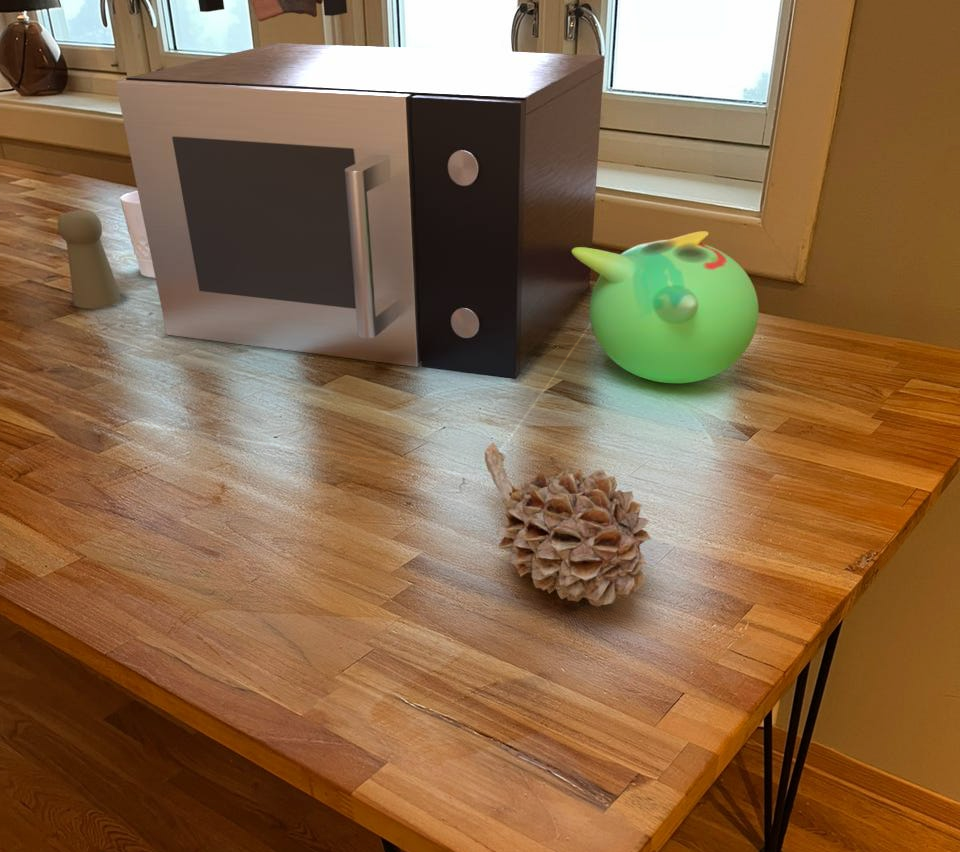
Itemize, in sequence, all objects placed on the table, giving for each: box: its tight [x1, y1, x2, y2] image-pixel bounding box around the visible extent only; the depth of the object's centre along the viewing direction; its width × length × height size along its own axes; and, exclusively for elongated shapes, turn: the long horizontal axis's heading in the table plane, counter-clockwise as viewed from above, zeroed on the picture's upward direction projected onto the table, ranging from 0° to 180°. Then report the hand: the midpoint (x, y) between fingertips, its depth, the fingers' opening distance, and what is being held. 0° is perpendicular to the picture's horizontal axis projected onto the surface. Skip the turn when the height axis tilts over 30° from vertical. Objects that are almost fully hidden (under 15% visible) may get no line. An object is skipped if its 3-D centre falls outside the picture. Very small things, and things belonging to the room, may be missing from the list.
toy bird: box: [572, 230, 760, 384], centre depth 102 cm, size 18×17×15 cm
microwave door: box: [115, 79, 422, 368], centre depth 102 cm, size 9×33×27 cm, turn 71°
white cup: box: [119, 190, 156, 279], centre depth 134 cm, size 8×8×10 cm
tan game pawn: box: [57, 210, 122, 309], centre depth 123 cm, size 6×6×11 cm
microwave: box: [125, 42, 605, 379], centre depth 115 cm, size 35×44×27 cm
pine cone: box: [484, 441, 652, 607], centre depth 73 cm, size 22×10×10 cm, turn 30°
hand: (273, 12), depth 82 cm, fingers closed on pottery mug, 11 cm apart
